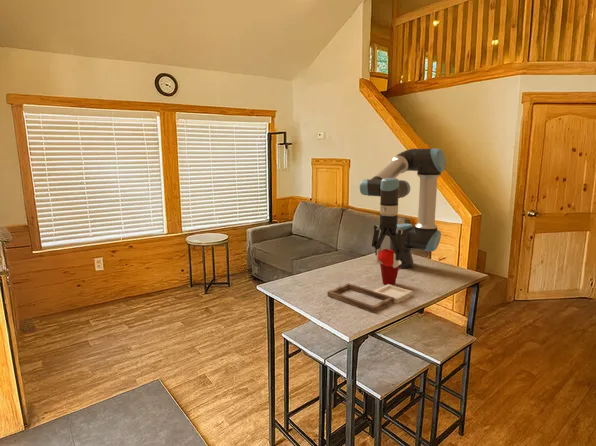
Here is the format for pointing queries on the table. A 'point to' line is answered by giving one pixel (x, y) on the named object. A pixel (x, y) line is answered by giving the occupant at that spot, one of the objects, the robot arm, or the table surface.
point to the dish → (395, 292)
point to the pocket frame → (357, 303)
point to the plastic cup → (389, 273)
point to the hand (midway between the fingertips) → (387, 264)
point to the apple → (386, 257)
